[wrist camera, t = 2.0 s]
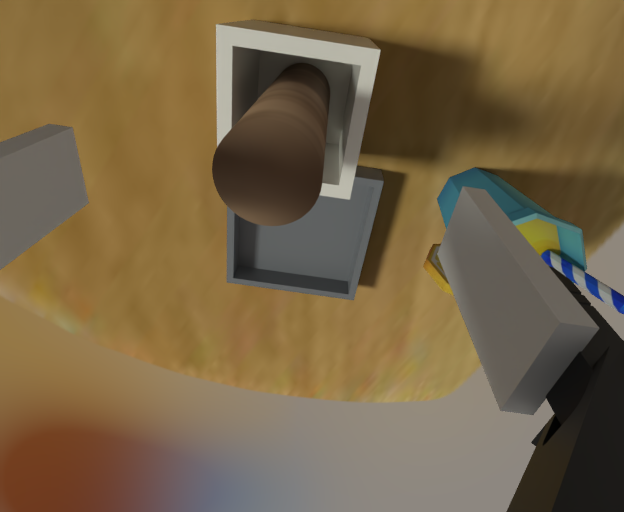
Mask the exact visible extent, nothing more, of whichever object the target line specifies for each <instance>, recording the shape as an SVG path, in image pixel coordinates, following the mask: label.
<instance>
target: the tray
mask: <svg viewBox="0 0 624 512" xmlns="http://www.w3.org/2000/svg"><path fill="white" fill-rule="evenodd" d="M383 183H384V179H383V175H382V172H381V169H375V168H368V167H361V166H357V167H356V172H355V177H354V182H353V187H352V192H351V197H350V200H348V199H341V198H334V197H328V196H321V195H319V197H318V199H317V201H316V203H315V205H314V206H313V207H312V209H311V210H310V211H309V212H308V213H307V214H306V215H304V216H303V217H302V218H300V219H298V220H296V221H294V222H292V223H289V224H286V225H280V226H264V225H259V224H255V223H252V222H249V221H247V220H245V219H243V218H242V217H240V216H238V215H237V214H236V213H234V212H233V211H232V210H231V209H230V208H229V207H228V206H227V282H228V283H235V284H242V285H249V286H256V287H263V288H271V289H278V290H285V291H292V292H299V293H306V294H313V295H320V296H328V297H335V298H342V299H349V300H354V297H355V293H356V289H357V285H358V281H359V277H360V273H361V270H362V266H363V262H364V258H365V254H366V250H367V246H368V242H369V238H370V234H371V230H372V226H373V222H374V218H375V215H376V211H377V207H378V203H379V199H380V195H381V191H382V187H383Z"/></svg>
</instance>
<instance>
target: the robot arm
mask: <svg viewBox="0 0 624 512" xmlns="http://www.w3.org/2000/svg"><path fill="white" fill-rule="evenodd" d="M88 203H89V202H88V197H87V192H86V188H85V183H84V179H83V174H82V169H81V165H80V160H79V155H78V151H77V146H76V141H75V137H74V132H73V127H67V126H60V125H53V124H48V125H45V126H42V127H40V128H37V129H34V130H32V131H29V132H26V133H24V134H21V135H19V136H16V137H13V138H11V139H8V140H5V141H3V142H0V270H1V269H2V268H3V267H5V266H6V265H7V264H9V263H10V262H11V261H13V260H14V259H15V258H16V257H18V256H19V255H20V254H22V253H23V252H24V251H26V250H27V249H28V248H30V247H31V246H32V245H34V244H35V243H36V242H38V241H39V240H40V239H42V238H43V237H44V236H46V235H47V234H48V233H50V232H51V231H52V230H54V229H55V228H56V227H58V226H59V225H60V224H62V223H63V222H64V221H66V220H67V219H68V218H69V217H71V216H72V215H73V214H75V213H76V212H77V211H79V210H80V209H81V208H83V207H84V206H85V205H87V204H88ZM437 255H438V257H439V260H440V262H441V265H442V267H443V270H444V272H445V275H446V277H447V280H448V282H449V285H450V287H451V290H452V292H453V295H454V297H455V299H456V302H457V304H458V307H459V309H460V312H461V314H462V317H463V319H464V322H465V324H466V327H467V329H468V332H469V334H470V337H471V339H472V341H473V344H474V346H475V349H476V351H477V354H478V356H479V359H480V361H481V364H482V366H483V369H484V371H485V374H486V376H487V379H488V381H489V384H490V386H491V388H492V391H493V393H494V396H495V398H496V401H497V403H498V406H499V408H500V410H501V411H507V412H514V413H521V414H529V415H534V413H535V412H536V411H537V409H538V408H539V407H540V406H541V404H542V403H543V402H544V400H545V399H546V398H547V400H548V402H549V404H550V406H551V407H552V409H553V411H554V413H555V414H554V415H553V416H552V418H551V419H550V420H549V421H548V423H547V424H546V425H545V426H544V427H543V429H542V430H541V431H540V432H539V434H538V435H537V436H536V437H535V438H534V440H533V441H532V444H534V445H535V446H536V448H535V451H534V453H533V455H532V457H531V459H530V461H529V464H528V466H527V468H526V470H525V472H524V475H523V477H522V479H521V481H520V483H519V486H518V488H517V490H516V492H515V494H514V497H513V499H512V501H511V503H510V505H509V508H508V510H507V512H624V341H623V340H622V339H621V338H620V337H619V336H618V334H617V333H616V332H615V331H614V330H613V329H612V327H611V326H610V325H609V324H608V323H607V322H606V320H605V319H604V318H603V317H602V316H601V315H600V314H599V312H598V311H597V310H596V309H595V308H594V307H593V306H591V303H590V302H589V301H588V300H587V298H586V297H585V296H584V295H581V292H580V290H579V289H578V288H577V287H576V286H575V285H574V283H573V282H572V281H571V280H570V279H569V278H567V277H566V276H565V275H563V274H562V273H560V272H559V271H558V270H556V269H555V268H553V267H549V266H548V265H547V264H546V263H545V261H544V260H543V259H542V258H541V257H540V255H539V254H538V253H537V252H536V251H535V249H534V248H533V247H532V246H531V244H530V243H529V242H528V241H527V240H526V238H525V237H524V236H523V235H522V234H521V232H520V231H519V230H518V229H517V228H516V226H515V225H514V224H513V223H512V221H511V220H510V219H509V218H508V217H507V215H506V214H505V213H504V212H503V211H502V209H501V208H500V207H499V206H498V204H497V203H496V202H495V201H494V200H493V198H492V197H491V196H490V195H489V194H488V192H487V191H486V190H485V189H478V188H472V187H465V186H463V187H462V190H461V192H460V195H459V198H458V200H457V203H456V206H455V208H454V211H453V214H452V216H451V219H450V222H449V224H448V227H447V229H446V232H445V235H444V237H443V240H442V243H441V245H440V248H439V251H438V253H437Z"/></svg>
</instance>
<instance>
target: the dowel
mask: <svg viewBox="0 0 624 512" xmlns="http://www.w3.org/2000/svg"><path fill="white" fill-rule="evenodd" d="M329 103H330V86H329V83H328V80H327V78H326V77H325V75H324V74H323V72H322V71H321V70H320V69H318V68H317V67H315V66H313V65H311V64H308V63H296V64H293V65H290V66H289V67H287V68H286V69H284V70H283V71H282V72H281V74H280V75H279V76H278V77H277V78H276V79H275V80H274V82H273V83H272V84H271V85H270V86H269V87H268V88H267V89H266V91H265V92H264V93H263V94H262V95H261V96H260V97H259V98H258V100H257V101H256V102H255V103H254V104H253V105H252V106H251V107H250V109H249V110H248V111H247V112H246V113H245V114H244V115H243V116H242V118H241V119H240V120H239V121H238V122H237V123H236V124H235V125H234V127H233V128H232V129H231V130H230V131H229V132H228V133H227V134H226V136H225V137H224V138H223V139H222V141H221V142H220V143H219V145H218V147H217V149H216V152H215V154H214V158H213V166H212V172H213V179H214V183H215V186H216V189H217V191H218V193H219V195H220V197H221V198H222V200H223V201H224V203H225V204H226V205H227V206H228V207H229V208H230V209H231V210H232V211H233V212H234V213H236V214H237V215H238V216H240V217H242V218H243V219H245V220H247V221H249V222H252V223H255V224H259V225H264V226H280V225H286V224H289V223H292V222H294V221H296V220H298V219H300V218H302V217H303V216H304V215H306V214H307V213H308V212H309V211H310V210H311V209H312V207H313V206H314V205H315V203H316V201H317V199H318V197H319V195H320V192H321V188H322V180H323V169H324V158H325V147H326V136H327V125H328V114H329Z"/></svg>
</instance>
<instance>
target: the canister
mask: <svg viewBox="0 0 624 512" xmlns="http://www.w3.org/2000/svg"><path fill="white" fill-rule="evenodd" d="M380 51H381V50H380V49H379V48H378V47H377V46H376V45H375V44H374V43H373V42H372V41H371V40H370V39H369V38H366V37H360V36H353V35H347V34H341V33H334V32H328V31H322V30H315V29H309V28H303V27H296V26H290V25H284V24H277V23H271V22H264V21H258V20H245V21H237V22H229V23H221V24H216V72H217V147H218V145H219V143H220V142H221V141H222V139H223V138H224V137H225V136H226V134H227V133H228V132H229V131H230V130H231V129H232V128H233V127H234V125H235V124H236V123H237V122H238V121H239V120H240V119H241V118H242V116H243V115H244V114H245V113H246V112H247V111H248V110H249V109H250V107H251V106H252V105H253V104H254V103H255V102H256V101H257V100H258V98H259V97H260V96H261V95H262V94H263V93H264V92H265V91H266V89H267V88H268V87H269V86H270V85H271V84H272V83H273V82H274V80H275V79H276V78H277V77H278V76H279V75H280V74H281V72H282V71H283V70H284V69H286V68H287V67H289V66H290V65H293V64H296V63H308V64H311V65H313V66H315V67H317V68H318V69H320V70H321V71H322V72H323V74H324V75H325V77H326V78H327V80H328V83H329V86H330V103H329V114H328V125H327V136H326V147H325V158H324V169H323V180H322V188H321V192H320V195H321V196H328V197H334V198H341V199H348V200H350V197H351V192H352V187H353V182H354V177H355V172H356V167H357V163H358V158H359V153H360V148H361V143H362V138H363V134H364V129H365V124H366V119H367V114H368V109H369V104H370V100H371V95H372V90H373V85H374V80H375V75H376V71H377V66H378V61H379V56H380Z"/></svg>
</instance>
